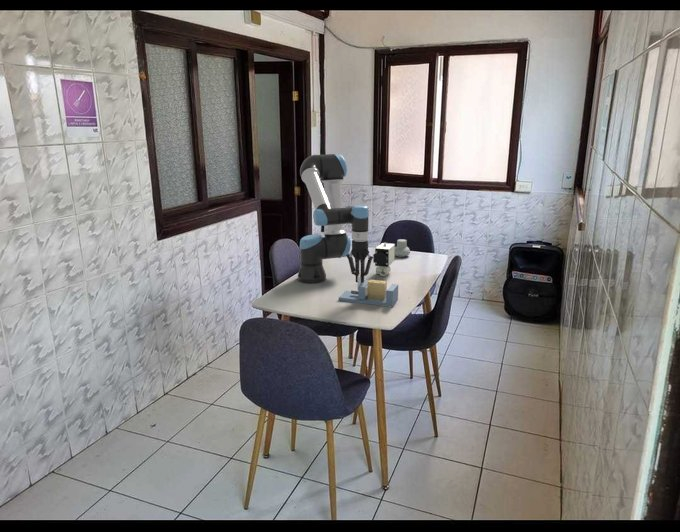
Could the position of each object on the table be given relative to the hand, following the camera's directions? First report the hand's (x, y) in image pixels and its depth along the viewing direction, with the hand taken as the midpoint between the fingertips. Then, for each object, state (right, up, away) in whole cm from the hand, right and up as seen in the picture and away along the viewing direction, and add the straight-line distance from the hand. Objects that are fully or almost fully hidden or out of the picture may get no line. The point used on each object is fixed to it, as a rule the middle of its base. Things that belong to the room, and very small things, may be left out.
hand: (359, 289), depth 229 cm
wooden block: (+8, -4, -2) cm, 9 cm away
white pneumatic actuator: (+15, +6, +38) cm, 42 cm away
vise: (+4, -5, 0) cm, 6 cm away
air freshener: (+29, +17, +75) cm, 82 cm away
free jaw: (0, -3, +1) cm, 3 cm away
